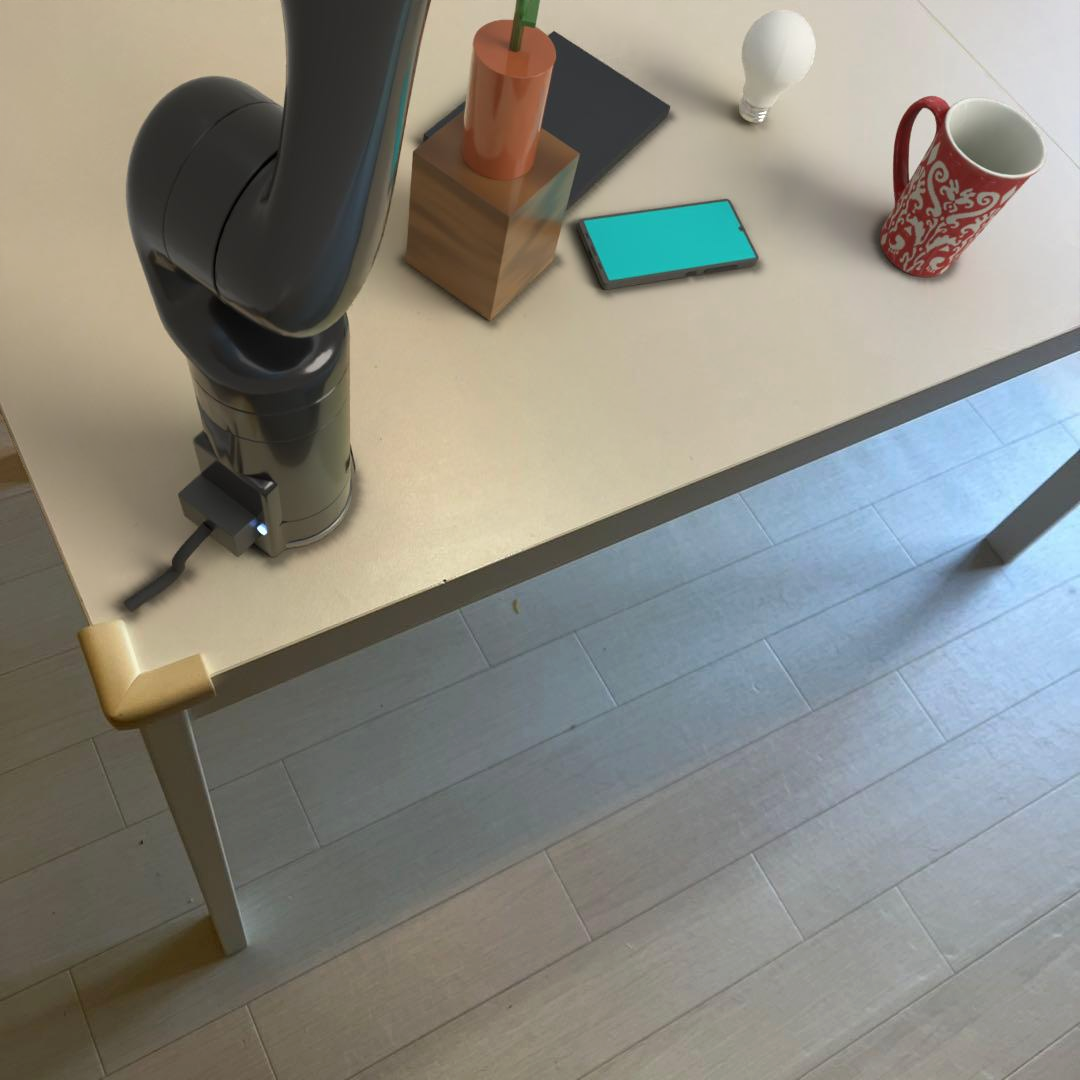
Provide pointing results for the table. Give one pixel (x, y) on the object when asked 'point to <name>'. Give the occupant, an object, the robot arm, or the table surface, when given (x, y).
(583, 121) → the placemat
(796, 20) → the light bulb
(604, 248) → the smartphone
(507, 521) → the table surface
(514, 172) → the flower pot
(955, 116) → the mug
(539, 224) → the wooden block
